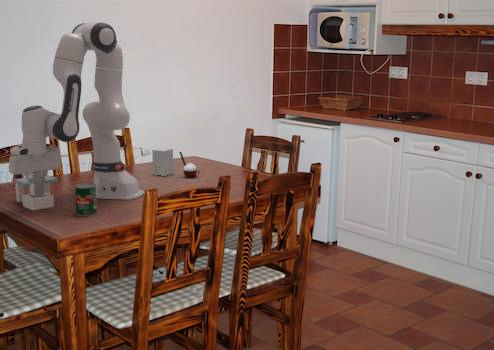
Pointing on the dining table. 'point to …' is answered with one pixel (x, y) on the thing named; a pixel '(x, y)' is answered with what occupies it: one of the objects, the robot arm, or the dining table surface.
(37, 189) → the metal peg
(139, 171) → the dining table surface
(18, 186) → the awning stand
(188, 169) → the cocoa
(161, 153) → the grey fluted block
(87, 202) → the canned tomato
